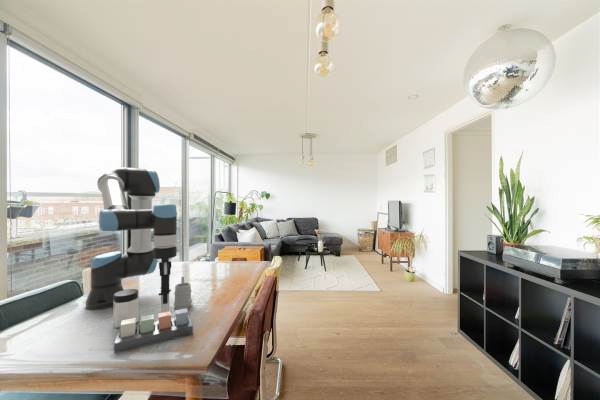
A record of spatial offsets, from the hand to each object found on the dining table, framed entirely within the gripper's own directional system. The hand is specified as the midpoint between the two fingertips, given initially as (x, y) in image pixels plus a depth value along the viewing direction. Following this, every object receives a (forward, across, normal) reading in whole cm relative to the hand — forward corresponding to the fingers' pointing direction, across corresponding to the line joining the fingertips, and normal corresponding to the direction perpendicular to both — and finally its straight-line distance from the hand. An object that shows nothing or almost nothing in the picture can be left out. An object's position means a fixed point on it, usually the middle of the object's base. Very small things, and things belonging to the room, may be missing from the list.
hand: (164, 311), depth 92 cm
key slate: (+6, 0, +6) cm, 8 cm away
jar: (+8, -17, -13) cm, 23 cm away
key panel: (+8, 0, -3) cm, 9 cm away
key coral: (+6, 0, 0) cm, 6 cm away
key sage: (+6, 0, -5) cm, 8 cm away
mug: (+8, -26, +8) cm, 28 cm away
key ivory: (+6, 0, -11) cm, 12 cm away
